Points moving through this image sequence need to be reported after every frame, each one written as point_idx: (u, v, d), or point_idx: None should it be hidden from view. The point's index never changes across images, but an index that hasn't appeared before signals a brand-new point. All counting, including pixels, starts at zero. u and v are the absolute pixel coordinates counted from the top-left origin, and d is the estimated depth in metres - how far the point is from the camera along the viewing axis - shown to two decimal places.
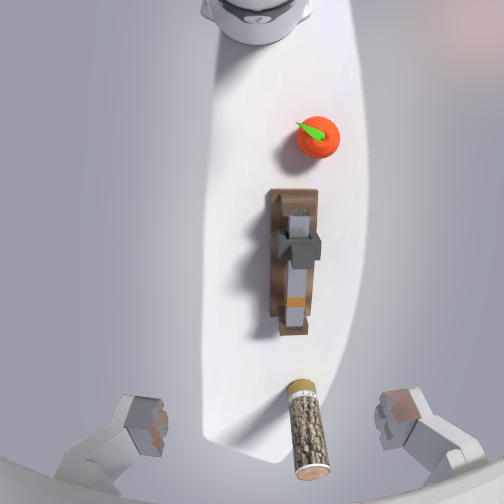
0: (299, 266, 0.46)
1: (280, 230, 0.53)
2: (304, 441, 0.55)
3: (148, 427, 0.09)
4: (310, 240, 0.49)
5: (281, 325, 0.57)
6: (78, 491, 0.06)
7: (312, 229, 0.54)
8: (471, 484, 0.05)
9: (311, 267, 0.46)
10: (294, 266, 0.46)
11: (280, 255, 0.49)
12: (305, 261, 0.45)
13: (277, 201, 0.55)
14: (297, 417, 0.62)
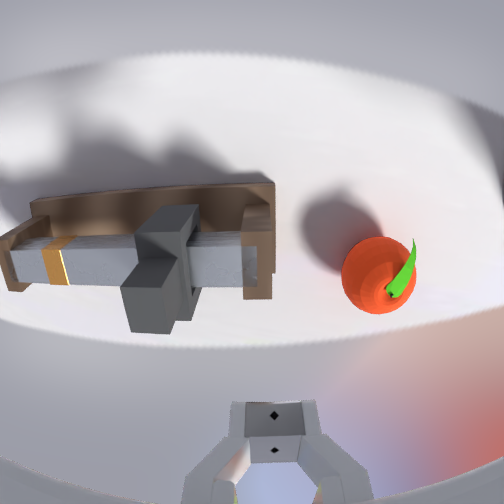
0: (130, 302, 0.17)
1: (197, 214, 0.24)
2: None
3: (273, 433, 0.09)
4: (190, 296, 0.21)
5: (10, 240, 0.22)
6: (78, 491, 0.06)
7: None
8: (471, 484, 0.05)
9: (133, 327, 0.17)
10: (129, 291, 0.16)
11: (146, 236, 0.19)
12: (146, 315, 0.17)
13: (252, 198, 0.27)
14: None
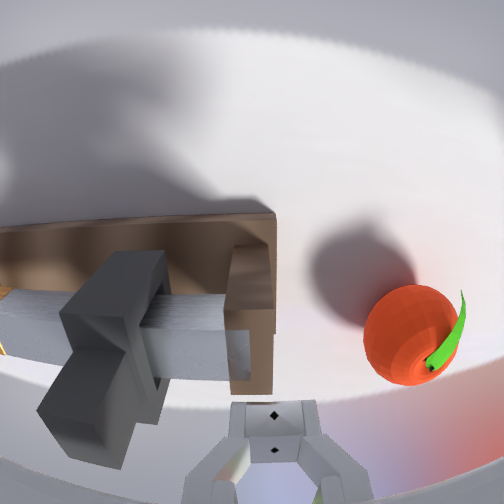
0: (56, 430, 0.09)
1: (161, 268, 0.16)
2: None
3: (273, 433, 0.09)
4: (152, 394, 0.13)
5: None
6: (78, 491, 0.06)
7: None
8: (471, 484, 0.05)
9: (69, 453, 0.09)
10: (50, 419, 0.08)
11: (76, 318, 0.11)
12: (82, 447, 0.09)
13: (243, 237, 0.19)
14: None
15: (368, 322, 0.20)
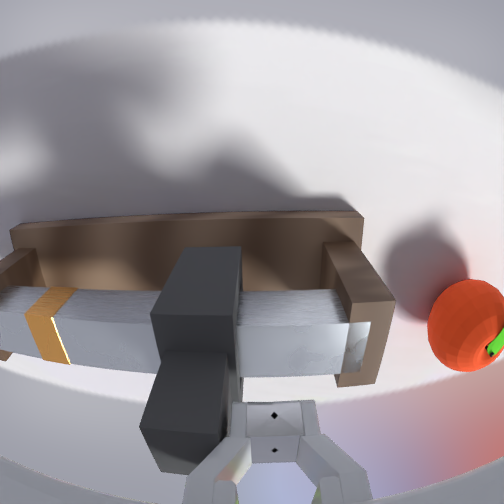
0: (160, 445, 0.09)
1: (240, 264, 0.16)
2: None
3: (274, 433, 0.09)
4: (239, 395, 0.13)
5: None
6: (78, 491, 0.06)
7: None
8: (471, 484, 0.05)
9: (164, 468, 0.09)
10: (157, 434, 0.08)
11: (172, 319, 0.11)
12: (187, 459, 0.09)
13: (332, 234, 0.19)
14: None
15: (435, 314, 0.20)
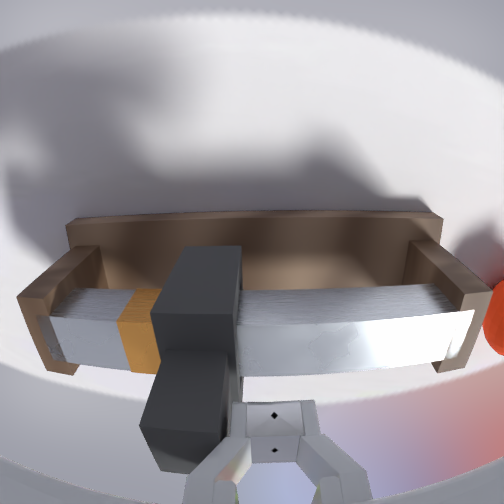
0: (160, 444, 0.09)
1: (240, 263, 0.16)
2: None
3: (274, 433, 0.09)
4: (239, 394, 0.13)
5: (47, 299, 0.14)
6: (78, 491, 0.06)
7: None
8: (471, 484, 0.05)
9: (164, 467, 0.09)
10: (157, 432, 0.08)
11: (172, 318, 0.11)
12: (187, 459, 0.09)
13: (417, 233, 0.19)
14: None
15: (492, 306, 0.20)
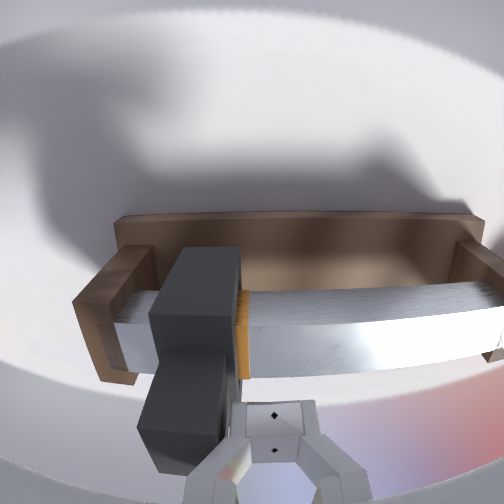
0: (158, 446, 0.09)
1: (239, 264, 0.16)
2: None
3: (274, 433, 0.09)
4: (238, 395, 0.13)
5: (112, 304, 0.13)
6: (78, 491, 0.06)
7: None
8: (471, 484, 0.05)
9: (163, 469, 0.09)
10: (155, 434, 0.08)
11: (171, 319, 0.11)
12: (185, 460, 0.09)
13: (463, 234, 0.19)
14: None
15: None
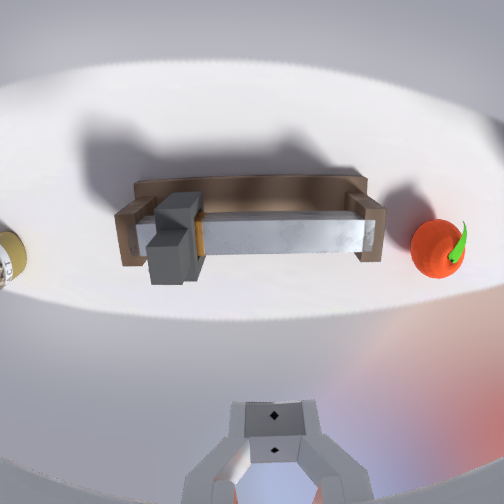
0: (153, 259, 0.23)
1: (201, 199, 0.30)
2: None
3: (273, 433, 0.09)
4: (196, 261, 0.27)
5: (135, 215, 0.27)
6: (78, 491, 0.06)
7: None
8: (471, 484, 0.05)
9: (153, 280, 0.23)
10: (153, 250, 0.22)
11: (164, 212, 0.25)
12: (164, 269, 0.23)
13: (350, 187, 0.33)
14: None
15: (414, 239, 0.34)
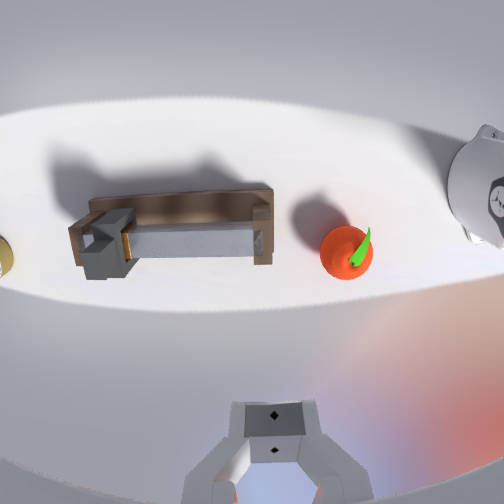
0: (85, 261, 0.30)
1: (132, 214, 0.37)
2: None
3: (273, 433, 0.09)
4: (123, 262, 0.35)
5: (82, 227, 0.34)
6: (78, 491, 0.06)
7: None
8: (471, 484, 0.05)
9: (87, 276, 0.30)
10: (85, 255, 0.29)
11: (97, 226, 0.32)
12: (93, 269, 0.30)
13: (258, 200, 0.40)
14: None
15: (321, 244, 0.41)
